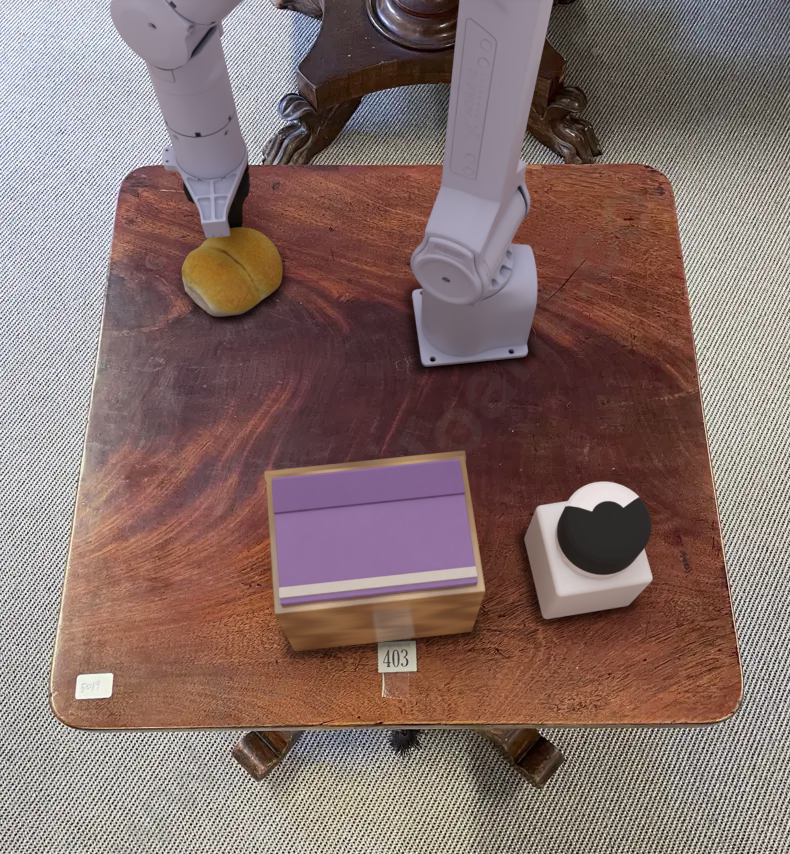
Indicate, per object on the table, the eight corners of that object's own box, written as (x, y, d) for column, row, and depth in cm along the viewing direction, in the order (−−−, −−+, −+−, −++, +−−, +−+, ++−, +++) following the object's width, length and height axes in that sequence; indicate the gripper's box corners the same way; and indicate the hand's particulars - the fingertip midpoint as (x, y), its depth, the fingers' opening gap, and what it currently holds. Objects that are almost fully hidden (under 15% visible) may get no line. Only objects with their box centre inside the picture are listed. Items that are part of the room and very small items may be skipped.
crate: (455, 509, 71) (465, 449, 60) (473, 631, 67) (487, 591, 57) (284, 527, 71) (263, 470, 60) (292, 651, 67) (272, 614, 56)
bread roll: (300, 275, 80) (296, 247, 76) (227, 334, 77) (219, 308, 74) (241, 225, 82) (234, 195, 78) (169, 280, 80) (158, 253, 76)
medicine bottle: (630, 606, 68) (675, 559, 57) (542, 621, 68) (570, 576, 57) (607, 523, 71) (646, 462, 59) (522, 536, 70) (546, 478, 59)
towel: (458, 462, 60) (459, 456, 59) (477, 584, 57) (478, 580, 56) (273, 481, 60) (271, 476, 59) (281, 606, 56) (279, 602, 56)
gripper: (147, 46, 70) (185, 169, 83) (148, 187, 65) (189, 295, 77) (234, 39, 70) (259, 162, 83) (242, 178, 65) (267, 287, 78)
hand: (230, 226), depth 80 cm, fingers closed
